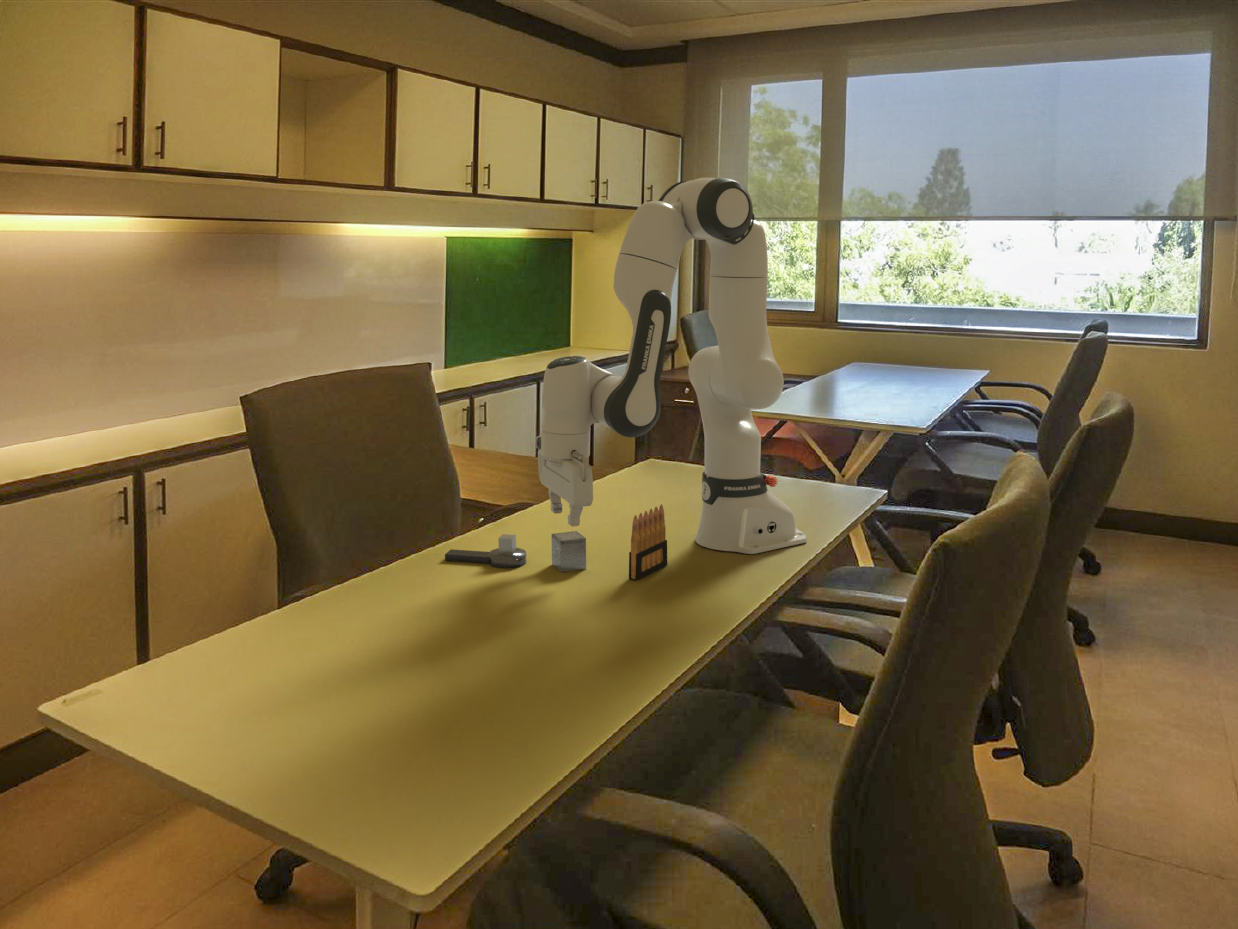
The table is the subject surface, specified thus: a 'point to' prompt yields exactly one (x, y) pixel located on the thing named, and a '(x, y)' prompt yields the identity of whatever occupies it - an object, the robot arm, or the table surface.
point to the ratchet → (492, 555)
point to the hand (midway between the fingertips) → (564, 518)
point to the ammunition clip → (648, 544)
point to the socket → (568, 551)
